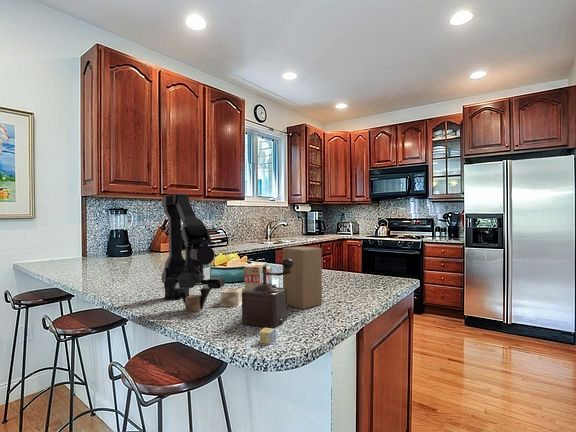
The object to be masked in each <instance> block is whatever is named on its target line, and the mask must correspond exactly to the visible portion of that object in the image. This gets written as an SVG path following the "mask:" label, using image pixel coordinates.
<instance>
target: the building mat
mask: <svg viewBox="0 0 576 432" xmlns="http://www.w3.org/2000/svg"><path fill="white" fill-rule="evenodd" d="M241 306H242V302H241V303H240V304H239V305H221V304H220V305H219V307H241Z"/></svg>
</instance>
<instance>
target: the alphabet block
mask: <svg viewBox="0 0 576 432" xmlns="http://www.w3.org/2000/svg"><path fill="white" fill-rule="evenodd" d="M276 335H277V332H276V328H274V329H272V328H262V329H261V330H259V343H260V344H267V345H272V344H273V343H275V341H277V336H276Z"/></svg>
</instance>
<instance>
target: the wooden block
mask: <svg viewBox="0 0 576 432" xmlns="http://www.w3.org/2000/svg"><path fill="white" fill-rule="evenodd" d="M286 258H287V259H291V260H293V266H292V268H291V273H288V274H287V275H285V274H284V275H282V288H287V307H292V308H297V309H301V310H306V309H309V308H312V307H316V306H320V305H322V304H323V287H322V286H323V282H322V281H323V280H322V279H323V273H322V272H323V271H322V269H323V267H322V265H323V263H322V248H321V247H313V246H301V245H300V246H293V247H292V246H291V247H290V246H289V247H283V248H282V261H283V260H284V259H286ZM283 270H284V268H283V267H282V271H283Z"/></svg>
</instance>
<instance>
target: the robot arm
mask: <svg viewBox="0 0 576 432" xmlns="http://www.w3.org/2000/svg"><path fill="white" fill-rule="evenodd" d="M161 206H162V208H163V213H164V214H165V217H167V218H168V222H167V223H168V257H167V259H166V260H165V261H164V262H165V263H164V268H163V269H162V270H163V271H162V274H161V276H160V277H161V283H163V288H164V297H163V298H162V299H163V300H181V299H182V301H183V304H184V305H185V298H186V297H188V296H189V295H190V289H193V288H195V286H202V288H200V289H199V290H200V295H201V304H200V306H201V309H202V308H203V309H204V306H205V303H206V300H207V298H208V296H209V293H210V292H211V290H213V289H214V290H216V289H217V290H219V289H222V287H224V286H225V279H224V277H222V276H211V278H210V279H208V280H203V279H204V278H205V275H203V267H204V266H205V265H207V264H209V263H211V264H212V262H213V261H214V259H215V255H216V254H215V251H214V249H213V248H212V247H210V244H211V243H212V242H211V239H212V238H211V236H210V233H209V231H208V228H207V226H206V225H205V223H204V221H203V220H202V219H200V218H199V217H197V215H196V213H195V211H194V209H193V207H192V204H191V202H190V197H189V195H188V194H187V193H175V194H169V195H168V194H166V195H164V197H162V200H161ZM182 239H183V242H184V247H185V258H184V256H183V254H182ZM203 309H202V310H203Z"/></svg>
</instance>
